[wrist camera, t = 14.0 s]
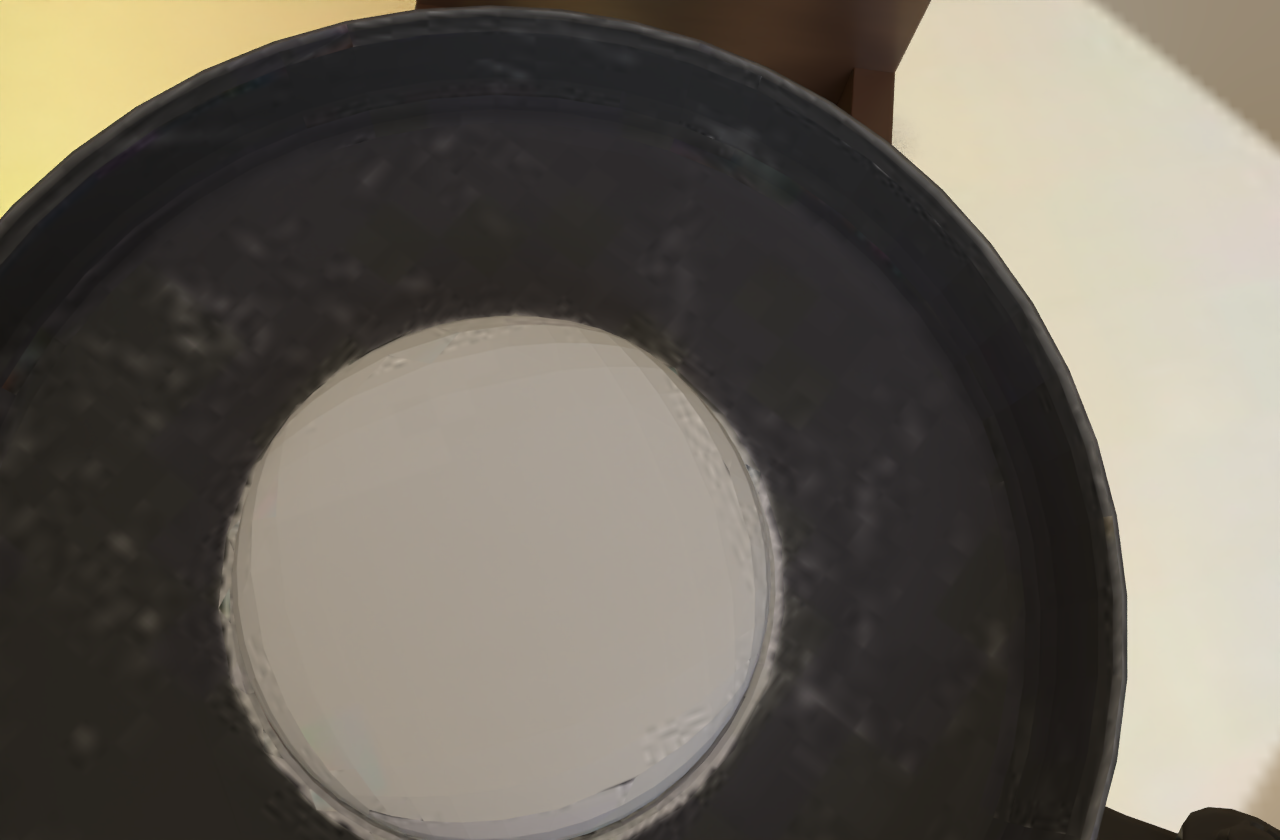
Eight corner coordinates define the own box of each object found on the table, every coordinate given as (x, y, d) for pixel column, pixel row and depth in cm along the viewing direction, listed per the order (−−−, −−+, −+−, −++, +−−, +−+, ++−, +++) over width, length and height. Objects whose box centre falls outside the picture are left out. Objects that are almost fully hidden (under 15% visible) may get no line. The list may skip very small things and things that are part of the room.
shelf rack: (371, 453, 34) (277, 268, 22) (440, 88, 38) (394, -242, 26) (821, 511, 34) (976, 362, 22) (843, 145, 38) (985, -150, 26)
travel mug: (687, 547, 27) (1039, -20, 8) (714, 896, 25) (1297, 1261, 6) (357, 563, 26) (-117, -22, 7) (354, 924, 24) (-357, 1457, 5)
